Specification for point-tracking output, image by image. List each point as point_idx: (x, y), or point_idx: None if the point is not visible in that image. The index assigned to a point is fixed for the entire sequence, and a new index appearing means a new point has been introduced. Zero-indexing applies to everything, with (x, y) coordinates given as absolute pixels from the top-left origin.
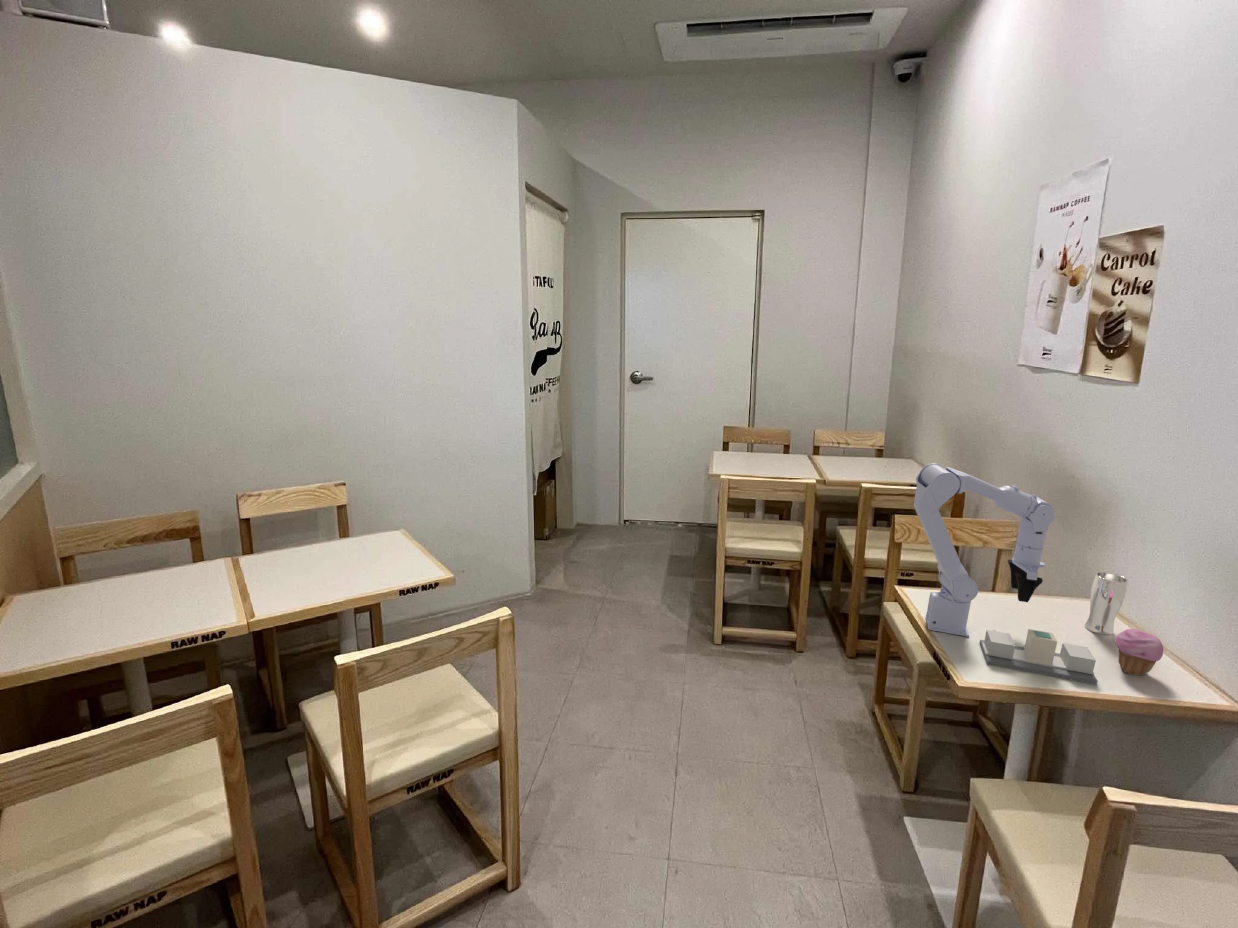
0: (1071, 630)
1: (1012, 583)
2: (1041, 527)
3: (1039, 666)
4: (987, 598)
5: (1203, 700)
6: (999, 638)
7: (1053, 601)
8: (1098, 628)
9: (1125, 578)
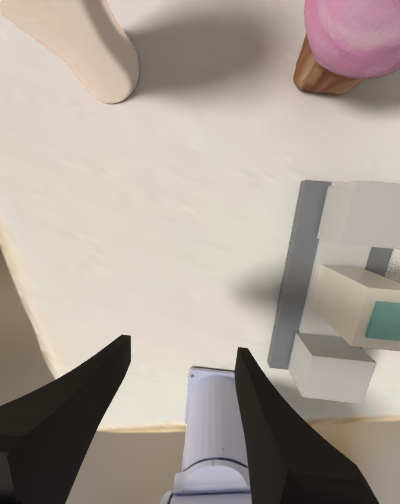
0: (143, 150)
1: (121, 380)
2: None
3: None
4: (48, 293)
5: None
6: (342, 383)
7: None
8: (129, 72)
9: None
